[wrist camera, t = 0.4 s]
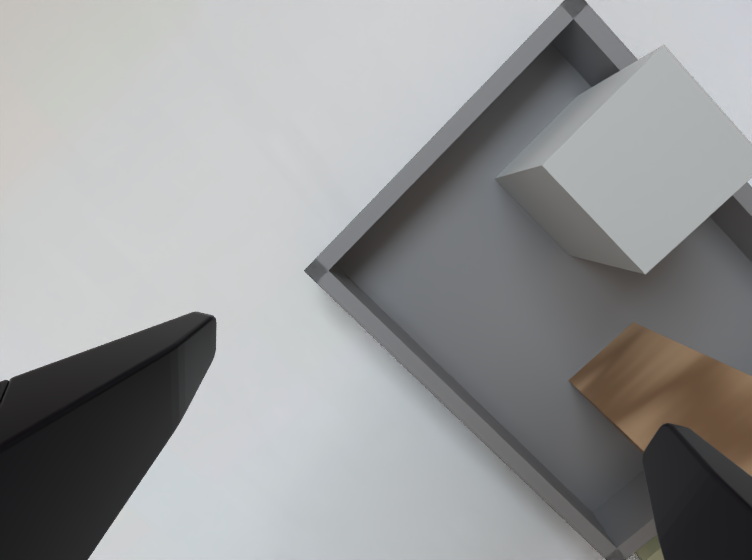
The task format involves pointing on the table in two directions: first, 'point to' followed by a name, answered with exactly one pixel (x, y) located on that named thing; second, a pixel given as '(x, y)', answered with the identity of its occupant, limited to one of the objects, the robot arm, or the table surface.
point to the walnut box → (670, 392)
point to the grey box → (631, 165)
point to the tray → (533, 288)
